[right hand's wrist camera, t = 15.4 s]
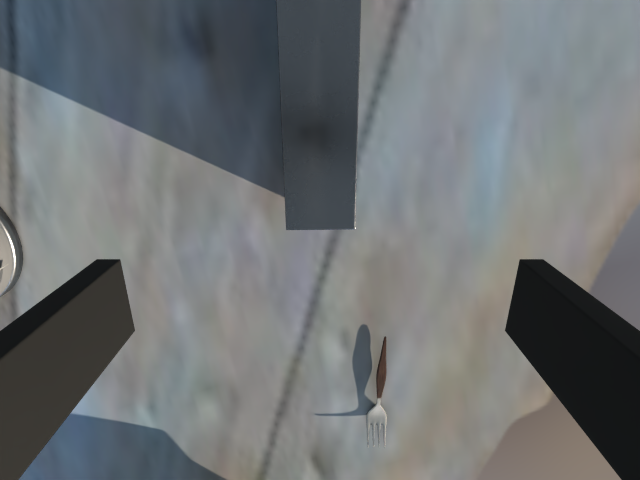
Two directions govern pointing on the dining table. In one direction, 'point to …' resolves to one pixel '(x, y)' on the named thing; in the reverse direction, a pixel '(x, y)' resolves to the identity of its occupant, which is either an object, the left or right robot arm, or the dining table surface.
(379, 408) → the fork
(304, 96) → the bar
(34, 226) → the dining table surface
